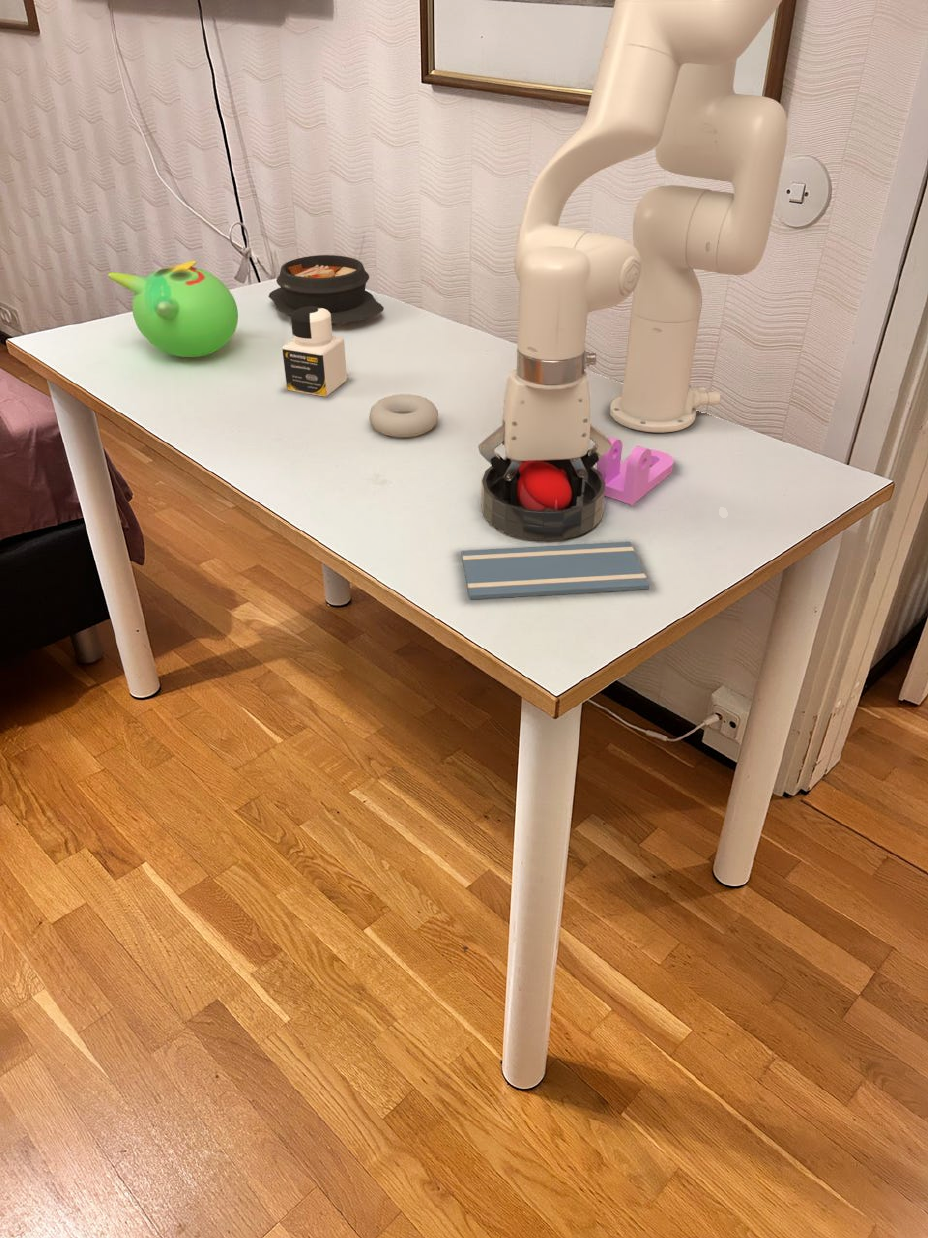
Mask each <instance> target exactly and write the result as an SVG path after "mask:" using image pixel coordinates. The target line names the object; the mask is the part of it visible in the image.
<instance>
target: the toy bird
mask: <svg viewBox="0 0 928 1238" xmlns="http://www.w3.org/2000/svg"><path fill="white" fill-rule="evenodd" d="M197 262H198V261H197V260H189V261H186V262H183V263H180V264H177V265H173V266H168V267H163V268H160V269H158V270H156V271H153V272H151V273H150V274H149V275H147V276H146V277H145V276H140V275H135V274H129V273H123V272H116V271H114V272H112V271H111V272H109V273H108V274H107V277H108V278H109V279H111V280H112V282H115V283H116V284H118V285H120V286H122V287H123V288H125V289H126V290H129V291H130V292H132V293H133V297H132V302H131V310H132V316H133V320H134V322H135V325H136V327H137V329H138V330H139V331H140V333H141V334H142V336H143V337H144V338H145V339H146V340H147V341H148V342H149V343H150V344H151V345H153V346H154V347H155V348H156V349H158V350H160V351H161V352H164V353H166V354H169V355H172V356H175V357H181V358H198V357H203V356H207V355H210V354H213V353H215V352H217V351H219V350H220V349H222V348H223V347H225V346H226V345H227V343H229V342H230V340H231V339H232V338H233V336H234V334H235V332H236V330H237V327H238V323H239V322H238V321H239V312H238V311H239V310H238V306H237V303H236V300H235V298H234V296H233V294H232V293H231V290H229V287H227V286H226V284H224V282H223V281H222V280H220V279H219V278H218V277H217V276H215V275H214V274H213V273H211V272H209V271H207V270H204V269H202V268H199V267H195V265H196V264H197Z"/></svg>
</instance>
